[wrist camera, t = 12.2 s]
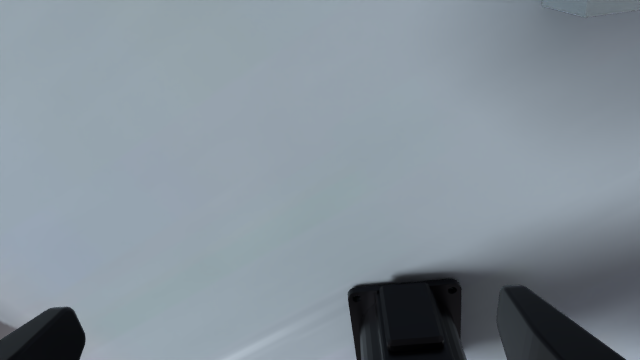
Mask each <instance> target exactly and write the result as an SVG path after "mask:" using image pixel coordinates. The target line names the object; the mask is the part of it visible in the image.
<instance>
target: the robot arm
mask: <svg viewBox="0 0 640 360" xmlns="http://www.w3.org/2000/svg"><path fill="white" fill-rule="evenodd" d="M451 287H454V288H452V289H449V288H451ZM356 295H357V296H359V297H354V296H356ZM348 302H349V309H350V316H351V323H352V330H353V336H354V343H355V350H356V357H357V360H467V359H466V356H465V353H464V350H463V347H462V344H461V341H460V330H461V287H460V284H459V282H458V281H457V280H455V279H445V280H434V281H423V282H412V283H401V284H390V285H378V286H367V287H356V288H352V289H350V290H349V292H348ZM497 326H498V330H499V333H500V337H501V340H502V343H503V347H504V350H505V354H506V357H507V360H626V359H625V358H623V357H622V356H620V355H619V354H618V353H616V352H615V351H614V350H612V349H611V348H609V347H608V346H607V345H605V344H604V343H603V342H601V341H600V340H598V339H597V338H596V337H594V336H593V335H592V334H590V333H589V332H587V331H586V330H585V329H583V328H582V327H580V326H579V325H578V324H576V323H575V322H574V321H572V320H571V319H569V318H568V317H567V316H565V315H564V314H563V313H561V312H560V311H558V310H557V309H556V308H554V307H553V306H552V305H550V304H549V303H547V302H546V301H545V300H543V299H542V298H541V297H539V296H538V295H536V294H535V293H534V292H532V291H531V290H530V289H528V288H527V287H525V286H523V285H509V286H503V287H502V288H501V290H500V295H499V302H498V309H497ZM84 345H85V333H84V330H83V328H82V326H81V324H80V322H79V320H78V318H77V316H76V314H75V312H74V310H73V309H72V308H70V307H54V308H50V309H48V310H46V311H44V312H43V313H41V314H40V315H38V316H37V317H35V318H34V319H32V320H30V321H29V322H27V323H26V324H24V325H23V326H21V327H20V328H18V329H16V330H15V331H13V332H12V333H10V334H9V335H7V336H6V337H4V338H3V339H1V340H0V360H79V359H80V357H81V354H82V351H83V349H84Z"/></svg>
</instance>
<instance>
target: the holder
mask: <svg viewBox="0 0 640 360" xmlns="http://www.w3.org/2000/svg"><path fill="white" fill-rule="evenodd" d="M542 6H543V7H547V8H550V9H554V10H558V11H562V12H566V13H569V14H573V15H577V16H581V17H585V18H587V17H594V16H601V15H608V14H616V13H623V12H630V11H637V10H640V0H542Z"/></svg>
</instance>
